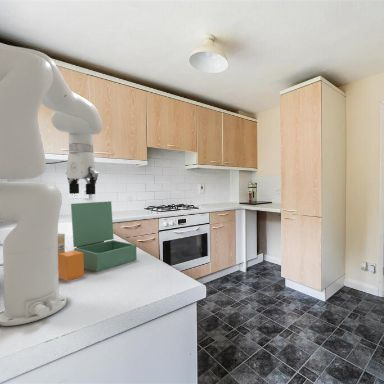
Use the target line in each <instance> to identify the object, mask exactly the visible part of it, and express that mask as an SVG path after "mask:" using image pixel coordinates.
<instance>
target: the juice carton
mask: <svg viewBox="0 0 384 384" xmlns="http://www.w3.org/2000/svg"><path fill="white" fill-rule="evenodd" d="M84 274H85V267H84V253H83V252H79V251H75V250H74V249H73V250H69V251H65V252H63V253H59V254H58V279H59V278H60V279H61V280H65V281H67V282H69V281H72V280H76V279H78V278H82V277H84V276H85V275H84Z"/></svg>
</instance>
